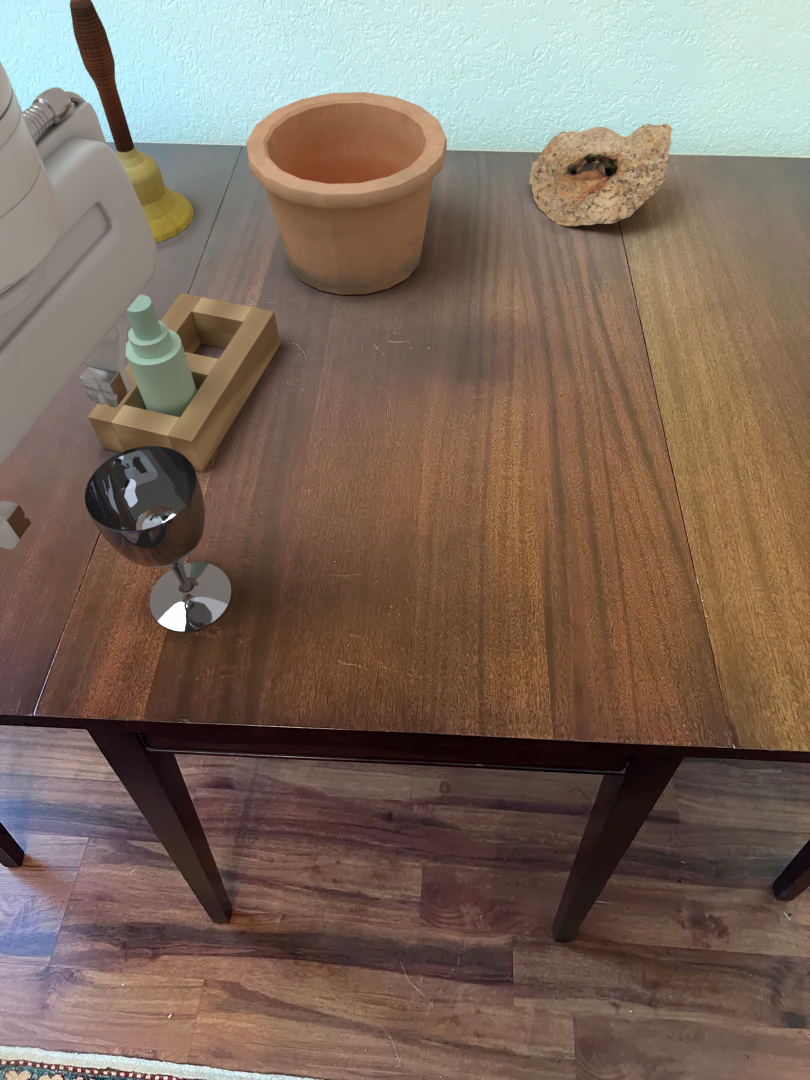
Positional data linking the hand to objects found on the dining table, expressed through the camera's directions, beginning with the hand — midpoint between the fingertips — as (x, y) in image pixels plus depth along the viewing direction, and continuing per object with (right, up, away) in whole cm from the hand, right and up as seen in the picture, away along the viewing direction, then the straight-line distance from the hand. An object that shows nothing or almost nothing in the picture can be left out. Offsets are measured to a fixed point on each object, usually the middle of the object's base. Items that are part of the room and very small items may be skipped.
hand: (64, 461), depth 39 cm
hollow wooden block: (-5, +12, +44) cm, 46 cm away
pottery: (+11, +32, +58) cm, 67 cm away
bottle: (-6, +8, +42) cm, 43 cm away
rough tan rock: (+41, +40, +64) cm, 86 cm away
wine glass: (-2, -9, +30) cm, 31 cm away
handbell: (-17, +38, +64) cm, 76 cm away
